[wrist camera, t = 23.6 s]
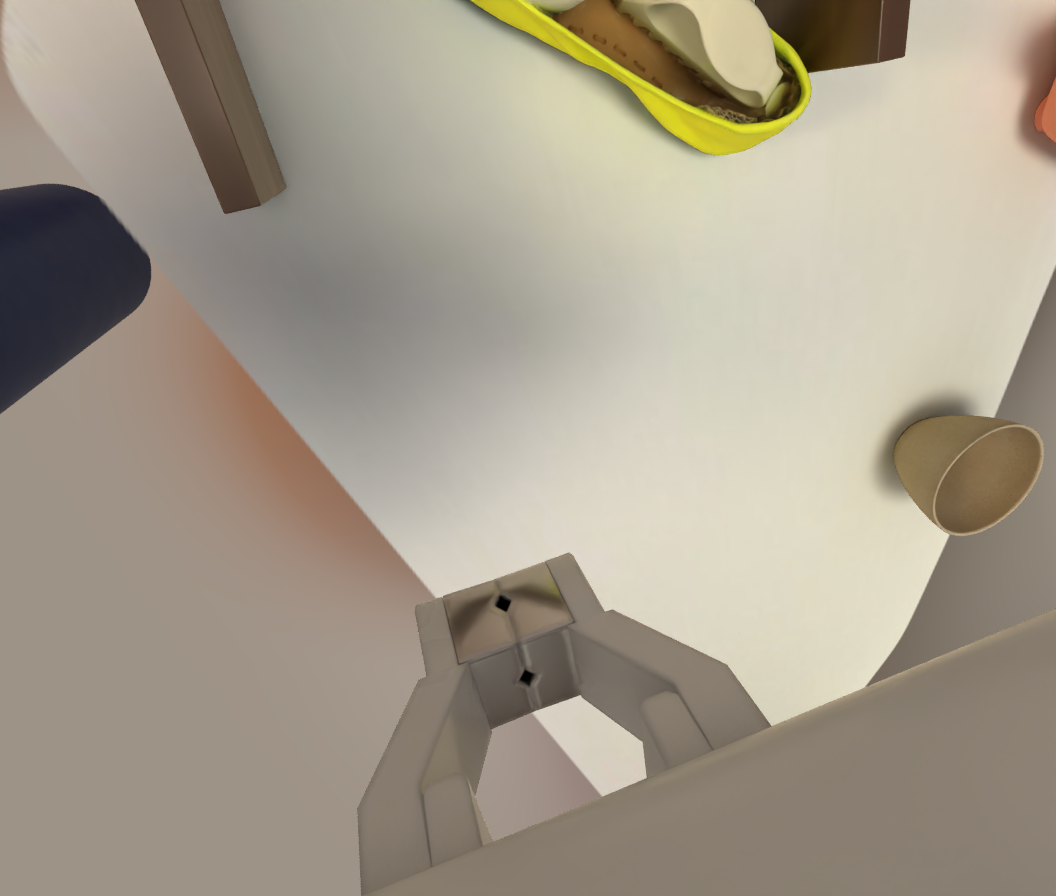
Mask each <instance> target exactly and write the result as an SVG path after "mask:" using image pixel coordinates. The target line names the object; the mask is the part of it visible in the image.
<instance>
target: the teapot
mask: <svg viewBox="0 0 1056 896" xmlns="http://www.w3.org/2000/svg"><path fill="white" fill-rule="evenodd" d="M1034 123H1035V127H1036V129H1037V130H1038V131H1040V132H1045V133H1046V135H1047V136H1048V137H1049V138H1050V139H1052V140H1053V141H1054V142H1055V143H1056V78H1055V80H1054V83H1053V85H1052V88H1051V91H1050V93H1049V95H1048V96H1047V97H1046V98H1045V99H1043V101H1042V102H1041V103H1040V105H1039V106H1038V108H1037V111H1036V113H1035V119H1034Z"/></svg>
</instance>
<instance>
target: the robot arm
mask: <svg viewBox="0 0 1056 896" xmlns="http://www.w3.org/2000/svg"><path fill="white" fill-rule="evenodd" d="M415 616H416V621H417V626H418V632H419V638H420V643H421V648H422V654H423V660H424V665H425V670H426V676H427V677H425V678H422V679H420V680H418V682H417V684H416V686H415V688H414V691H413V693H412V695H411V697H410V699H409V701H408V703H407V705H406V708H405V709H404V712H403V714H402V716H401V718H400V720H399V722H398V724H397V726H396V729H395V730H394V733H393V735H392V737H391V739H390V741H389V743H388V745H387V748H386V749H385V752H384V754H383V756H382V758H381V760H380V762H379V764H378V766H377V769H376V771H375V773H374V775H373V777H372V779H371V781H370V783H369V785H368V787H367V789H366V791H365V794H364V796H363V798H362V800H361V802H360V804H359V806H358V808H357V812H358V834H359V855H360V877H361V896H1056V609H1053V610H1051V611H1049V612H1046V613H1044V614H1041V615H1039V616H1037V617H1034V618H1032V619H1029V620H1027V621H1024V622H1022V623H1020V624H1018V625H1015V626H1012V627H1010V628H1008V629H1005V630H1003V631H1001V632H998V633H995V634H993V635H991V636H988V637H986V638H983V639H981V640H979V641H976V642H974V643H971V644H969V645H967V646H964V647H962V648H959V649H957V650H955V651H952V652H950V653H947V654H945V655H943V656H940V657H938V658H935V659H933V660H930V661H928V662H926V663H923V664H921V665H918V666H916V667H914V668H911V669H909V670H906V671H904V672H901V673H899V674H897V675H894V676H892V677H889V678H887V679H884V680H882V681H880V682H877V683H875V684H872V685H870V686H868V687H865V688H863V689H860V690H858V691H855V692H853V693H851V694H848V695H846V696H843V697H841V698H839V699H836V700H834V701H831V702H829V703H827V704H824V705H822V706H819V707H817V708H814V709H812V710H810V711H807V712H805V713H802V714H800V715H798V716H795V717H793V718H790V719H788V720H786V721H783V722H781V723H778V724H776V725H774V726H771V725H770V723H769V722H768V721H767V719H766V718H765V717H764V715H763V714H762V712H761V711H760V710H759V708H758V707H757V705H756V704H755V703H754V701H753V700H752V699H751V697H750V696H749V694H748V693H747V692H746V690H745V689H744V687H743V686H742V685H741V683H740V682H739V681H738V679H737V678H736V676H735V675H734V674H733V672H732V671H731V669H730V668H729V667H728V665H726V664H724V663H722V662H720V661H718V660H716V659H714V658H712V657H710V656H708V655H706V654H704V653H701V652H699V651H697V650H695V649H693V648H691V647H689V646H687V645H685V644H683V643H681V642H679V641H677V640H675V639H672V638H670V637H668V636H666V635H664V634H662V633H660V632H658V631H656V630H654V629H652V628H650V627H648V626H646V625H644V624H641V623H639V622H637V621H635V620H633V619H631V618H629V617H627V616H625V615H623V614H621V613H619V612H617V611H615V610H609V611H606V612H605V611H604V610H603V608H602V606H601V604H600V602H599V601H598V599H597V597H596V595H595V594H594V592H593V590H592V588H591V586H590V585H589V583H588V581H587V579H586V578H585V576H584V574H583V572H582V571H581V569H580V567H579V565H578V563H577V562H576V560H575V558H574V556H573V555H572V554H570V553H566V554H564V555H561V556H558V557H555V558H553V559H550V560H547V561H545V562H542V563H539V564H536V565H534V566H531V567H528V568H525V569H522V570H519V571H517V572H514V573H511V574H508V575H505V576H502V577H500V578H497V579H494V580H492V581H488V582H485V583H482V584H479V585H476V586H473V587H470V588H466V589H463V590H460V591H457V592H454V593H451V594H447V595H444V596H443V597H440V598H437V599H434V600H431V601H428V602H425V603H421V604H418V605H416V606H415ZM579 695H581V696H582V698H584V699H585V700H586V701H588V702H589V703H590V704H592V705H593V706H594V707H596V708H597V709H599V710H600V711H601V712H603V713H604V714H605V715H607V716H608V717H609V718H611V719H612V720H614V721H615V722H616V723H618V724H619V725H620V726H622V727H623V728H624V729H626V730H627V731H628V732H630V733H631V734H633V735H634V736H635V737H637V738H638V739H639V740H641V741H642V742H643V749H644V758H645V766H646V775H647V778H646V779H644V780H641V781H639V782H636V783H634V784H632V785H629V786H627V787H624V788H622V789H620V790H617V791H615V792H612V793H610V794H608V795H605V796H603V797H600V798H598V799H596V800H593V801H591V802H588V803H586V804H583V805H581V806H579V807H576V808H574V809H571V810H569V811H567V812H564V813H562V814H559V815H557V816H554V817H552V818H550V819H547V820H545V821H542V822H540V823H538V824H535V825H533V826H531V827H528V828H526V829H523V830H521V831H518V832H516V833H514V834H511V835H509V836H506V837H504V838H501V839H499V840H497V841H494V842H493V839H492V837H491V834H490V832H489V830H488V827H487V825H486V822H485V820H484V817H483V815H482V812H481V810H480V808H479V805H478V803H477V800H476V798H475V795H476V791H477V787H478V783H479V780H480V775H481V772H482V768H483V764H484V761H485V757H486V753H487V749H488V745H489V742H490V738H491V734H492V731H491V729H493V728H495V727H498V726H500V725H503V724H505V723H507V722H510V721H512V720H515V719H517V718H519V717H522V716H524V715H527V714H529V713H531V712H534V711H536V710H539V709H542V708H545V707H548V706H551V705H553V704H556V703H559V702H562V701H565V700H568V699H570V698H573V697H576V696H579Z"/></svg>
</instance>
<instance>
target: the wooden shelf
mask: <svg viewBox="0 0 1056 896" xmlns="http://www.w3.org/2000/svg"><path fill="white" fill-rule="evenodd" d="M135 2H136V4H137V6H138V9H139V11H140V14H141V16H142V18H143V21H144V23H145V26H146V28H147V30H148V33H149V35H150V37H151V40H152V42H153V45H154V47H155V49H156V52H157V54H158V57H159V59H160V61H161V64H162V66H163V69H164V71H165V73H166V76H167V78H168V80H169V83H170V85H171V88H172V90H173V92H174V95H175V97H176V100H177V102H178V104H179V107H180V109H181V112H182V114H183V116H184V119H185V121H186V123H187V126H188V128H189V131H190V133H191V135H192V138H193V140H194V143H195V145H196V147H197V150H198V152H199V155H200V157H201V159H202V162H203V164H204V166H205V169H206V171H207V174H208V176H209V178H210V181H211V183H212V186H213V188H214V190H215V193H216V195H217V198H218V200H219V202H220V205H221V207H222V209H223V212H224V213H225V214H228V213H232V212H237V211H241V210H245V209H249V208H254V207H258V206H261V205H262V204H264V203H265V202H267V201H268V200H270V199H271V198H272V197H274V196H275V195H277V194H278V193H280V192H281V191H283V190H284V189H286V185H285V182H284V179H283V176H282V174H281V171H280V168H279V165H278V163H277V160H276V157H275V154H274V152H273V149H272V146H271V143H270V141H269V138H268V135H267V132H266V130H265V127H264V124H263V121H262V119H261V116H260V113H259V110H258V108H257V105H256V102H255V99H254V96H253V94H252V91H251V88H250V85H249V83H248V80H247V77H246V74H245V72H244V69H243V66H242V63H241V61H240V58H239V55H238V52H237V50H236V47H235V44H234V41H233V39H232V36H231V33H230V30H229V28H228V25H227V22H226V19H225V17H224V14H223V11H222V8H221V5H220V3H219V0H135ZM756 6H757V7H758V9H759V10H760V11H761V13H762V15H763V16H764V18H765V20H766V22H767V24H768V27H769V28H771V29H772V30H773V31H774V32H775V33H776V34H777V35H779V36H780V37H781V38H782V39H784V40H785V41H786V42H787V43H788V44H790V45H791V46H792V47H793V48H794V50H795V51H796V52H797V54H798V55H799V57H800V59H801V61H802V63H803V64H804V66H805V68H806V70H807V73H812V72H819V71H826V70H833V69H840V68H847V67H854V66H860V65H867V64H874V63H880V62H884V61H888V60H893V59H897V58H901V57H904V56H905V49H906V39H907V29H908V19H909V9H910V0H756Z"/></svg>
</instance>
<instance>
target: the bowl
mask: <svg viewBox="0 0 1056 896" xmlns="http://www.w3.org/2000/svg"><path fill="white" fill-rule="evenodd" d="M893 457H894V462H895V466H896V469H897V472H898V474H899V477H900V479H901V481H902V483H903V485H904V487H905V489H906V490H907V492H908V494H909V495H910V497H911V498H912V499H913V501H914V502H915V503H916V505H917V506H918V507H919V508H920V509H921V511H922V512H923V513H924V514H925V515H926V516H927V517H928V518H929V519H930V520H931V521H932V522H933V523H934V524H935V525H937V526H938V527H939V528H940V529H941V530H943V531H944V532H946V533H948V534H951V535H956V536H966V535H972V534H976V533H978V532H981V531H984V530H986V529H988V528H990V527H992V526H993V525H995V524H997V523H998V522H1000V521H1001V520H1003V519H1004V518H1005V517H1007V516H1008V515H1009V514H1010V513H1011V512H1012V511H1014V510H1015V509H1016V508H1017V507H1018V506H1019V505H1020V504H1021V502H1022V501H1023V500H1024V499H1025V498H1026V496H1027V495H1028V494H1029V492H1030V491H1031V489H1032V487H1033V486H1034V484H1035V482H1036V480H1037V478H1038V476H1039V474H1040V471H1041V469H1042V464H1043V460H1044V445H1043V442H1042V439H1041V437H1040V435H1039V434H1038V433H1037V432H1036V431H1035V430H1034V429H1032V428H1031V427H1029V426H1026V425H1022V424H1019V423H1015V422H1011V421H1007V420H1002V419H996V418H990V417H982V416H963V415H960V416H942V417H934V418H928V419H924V420H920V421H918V422H916V423H914V424H913V425H911V426H910V427H909V428H908V429H906V430H905V431H904V433H903V434H902V435H901V436H900V438H899V439H898V441H897V443H896V445H895V448H894V454H893Z"/></svg>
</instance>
